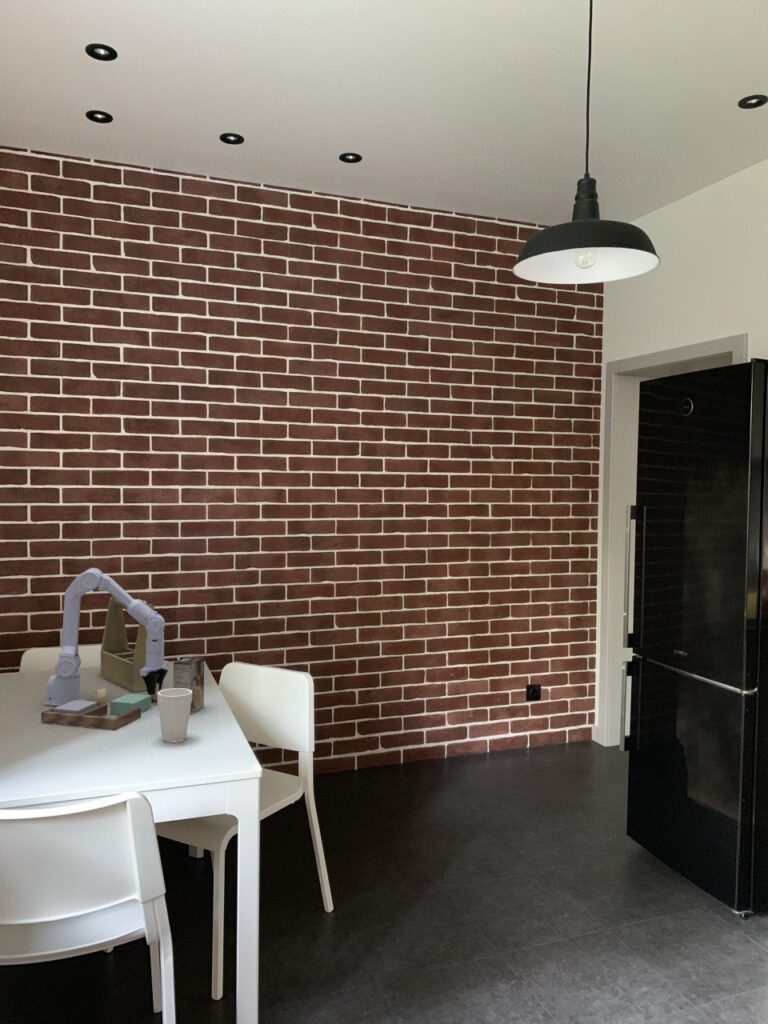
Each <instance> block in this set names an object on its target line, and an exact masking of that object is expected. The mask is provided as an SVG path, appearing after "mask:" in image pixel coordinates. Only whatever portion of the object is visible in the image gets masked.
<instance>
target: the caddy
mask: <svg viewBox="0 0 768 1024" xmlns="http://www.w3.org/2000/svg"><path fill="white" fill-rule="evenodd" d="M146 605H147V606H148V607H150V608H151V609H152V610H153V611H154V612H155V611H156V610H155V606H154V605H153V604H151V603H149V604H147V603H146ZM124 610H126V611H127V606H126V605H124V604H123V603H122V602H120V601H119V600H118V599H117V598H115V597H114V596H113V595H112V596H111V597H109V602H108V608H107V613H106V618H105V625H104V630H103V636H102V642H101V647H100V677H101V676H102V677H104V678H105V679H104V678H103V679H104V680H106V679H107V680H106V681H108V680H109V681H108V682H110V681H111V682H110V683H112V682H114V683H113V684H115V683H116V684H115V685H117V686H119V687H121V686H122V687H121V688H123V687H124V688H123V689H126V690H128V691H130V692H132V693H140V692H145V690H146V691H147V688H146V684H145V682H144V680H143V678H142V676H140V670H141V669H142V668H143V667H144V666H145V665H146V638H147V630H146V628H145V625H142V624H140V623H139V622H138V629H137V633H136V634H137V635H136V639H135V640H136V641H135V646H134V649H132V648H129V639H128V635H127V634H128V633H127V629H126V620H125V616H124V615H125V613H124ZM102 677H101V678H102ZM139 691H140V692H139Z"/></svg>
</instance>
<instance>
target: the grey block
mask: <svg viewBox="0 0 768 1024" xmlns="http://www.w3.org/2000/svg"><path fill="white" fill-rule="evenodd" d="M107 694H108V689H107V688H98V689H96V701H91V700H90V701H89V700H86V701H80V700H73V701H71V702H68V703H66V704H63V705H61V706H59V707H56V706H55V707H56V708H54V707H53V708H54V712H59V713H69V714H81V713H83V712H86V711H88V710H90V709H93V708H95V707H97V706H100V705H102V704H107V701H108V699H107V698H108V695H107Z"/></svg>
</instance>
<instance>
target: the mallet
mask: <svg viewBox="0 0 768 1024" xmlns="http://www.w3.org/2000/svg"><path fill="white" fill-rule="evenodd" d="M158 692H159V683H156V690H155V694H154V695H149V694H141V693H140V694H138V693H137V694H136V693H127V694H124V695H122V696H120V697H117V698H114V699H113V700H111V701H109V702H110V704H109V707H110V709H109V711H110V715H112V714H114V715H113V716H119V715H121V714H123V713H125V712H127V711H129V710H132V709H134V708H136V707H140V708H141V712H142V713H144V712H146V711H148V710H150V709H151V708H152V701H157V695H158ZM149 708H150V709H149ZM147 709H148V710H147ZM145 710H146V711H145ZM143 711H144V712H143Z"/></svg>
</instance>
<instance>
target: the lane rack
mask: <svg viewBox="0 0 768 1024" xmlns="http://www.w3.org/2000/svg"><path fill="white" fill-rule="evenodd" d="M69 702H71V701H69ZM66 703H68V702H66ZM66 703H64V704H66ZM61 705H63V704H61ZM61 705H59V706H61ZM59 706H54V707H52V708H49V709H46V710H44V711H41V712H40V722H46V723H45V724H50V723H56V724H55V725H60V724H67V725H66V726H69V725H75V726H74V727H79V726H84V727H83V728H89V727H94V728H93V729H98V728H101V729H102V730H108V729H112V730H111V731H117V730H118V728H119V729H120V727H121V728H122V726H123V727H124V725H125V726H127V725H128V723H129V724H130V722H131V723H132V721H133V722H135V721H136V719H137V720H139V719H141V718H142V713H141V708H140V707H136V708H134V709H132V710H129V711H127V712H125V713H123V714H121V715H116V716H115V717H109V716H106V715H108V704H102V705H100V706H97V707H95V708H93V709H90V710H88V711H86V712H83V713H81V714H69V713H59V712H54V708H56V707H59ZM140 717H141V718H140ZM138 718H139V719H138ZM134 720H135V721H134ZM126 724H127V725H126ZM101 729H100V730H101ZM116 729H117V730H116Z"/></svg>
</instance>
